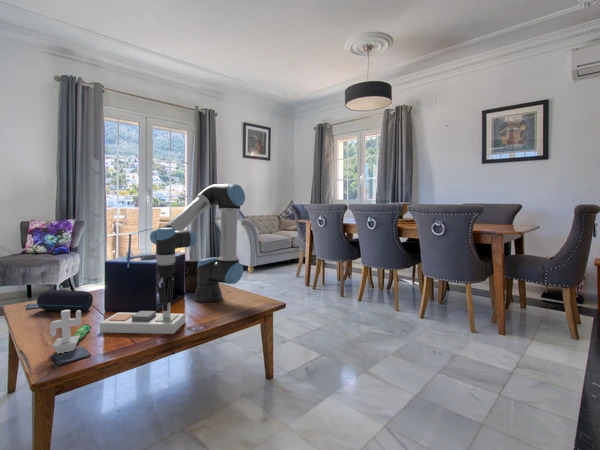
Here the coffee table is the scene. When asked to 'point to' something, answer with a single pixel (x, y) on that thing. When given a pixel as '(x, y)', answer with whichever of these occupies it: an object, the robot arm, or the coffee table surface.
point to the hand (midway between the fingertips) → (166, 317)
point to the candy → (82, 331)
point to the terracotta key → (121, 317)
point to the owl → (191, 276)
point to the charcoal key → (144, 316)
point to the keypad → (142, 325)
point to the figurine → (65, 332)
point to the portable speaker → (65, 300)
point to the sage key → (161, 319)
